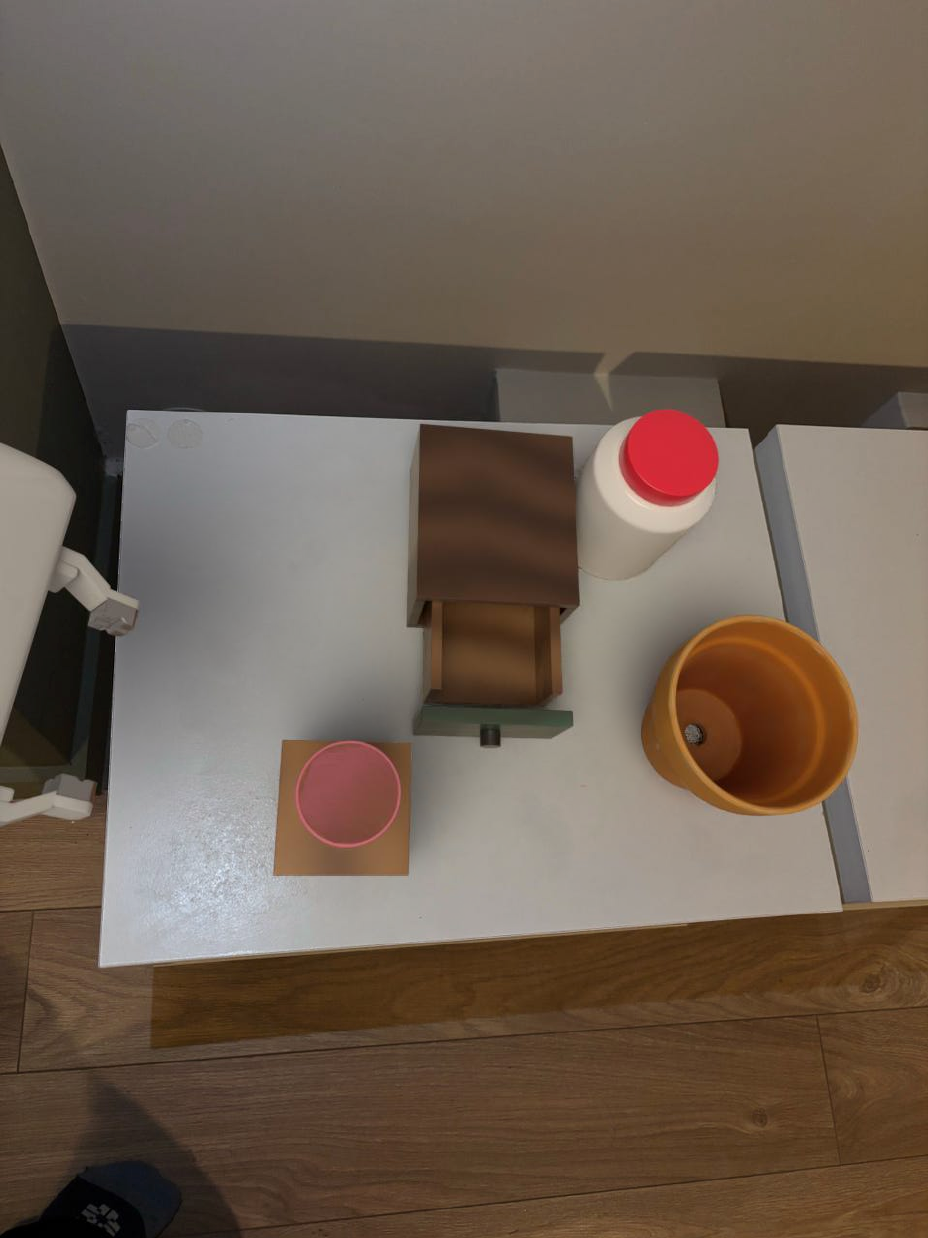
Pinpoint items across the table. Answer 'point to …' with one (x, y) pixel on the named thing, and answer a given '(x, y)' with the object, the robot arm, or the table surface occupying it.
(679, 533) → the pill bottle
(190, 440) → the table surface
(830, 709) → the flower pot
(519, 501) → the cabinet
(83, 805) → the robot arm
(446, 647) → the drawer
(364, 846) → the stand
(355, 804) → the pink-rimmed cylinder
